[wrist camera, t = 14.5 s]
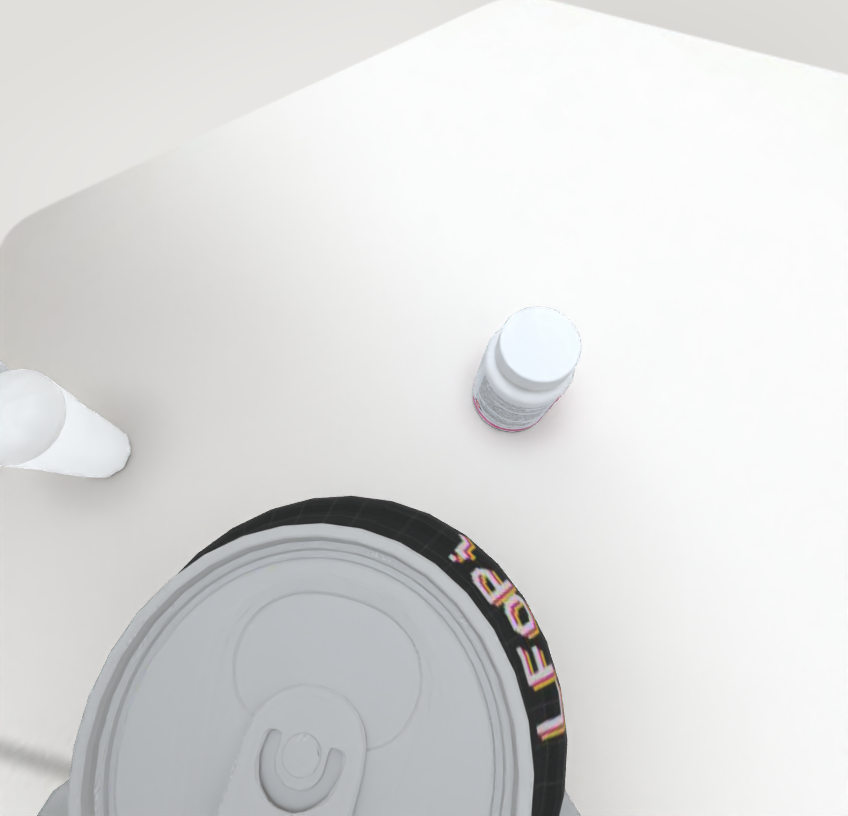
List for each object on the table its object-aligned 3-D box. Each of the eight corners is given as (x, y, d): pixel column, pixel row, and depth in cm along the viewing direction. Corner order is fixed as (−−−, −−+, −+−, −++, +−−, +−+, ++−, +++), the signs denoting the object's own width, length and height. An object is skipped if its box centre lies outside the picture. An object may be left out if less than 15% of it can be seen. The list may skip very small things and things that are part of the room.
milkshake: (132, 393, 34) (27, 325, 25) (149, 476, 33) (44, 437, 23) (56, 415, 34) (-82, 354, 24) (70, 500, 33) (-71, 471, 23)
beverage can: (284, 734, 16) (-123, 1038, 5) (341, 535, 18) (140, 419, 7) (481, 793, 15) (545, 1319, 4) (520, 580, 17) (640, 534, 6)
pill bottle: (550, 432, 35) (594, 390, 26) (473, 433, 34) (493, 391, 26) (544, 360, 36) (584, 298, 28) (470, 360, 36) (488, 298, 28)
